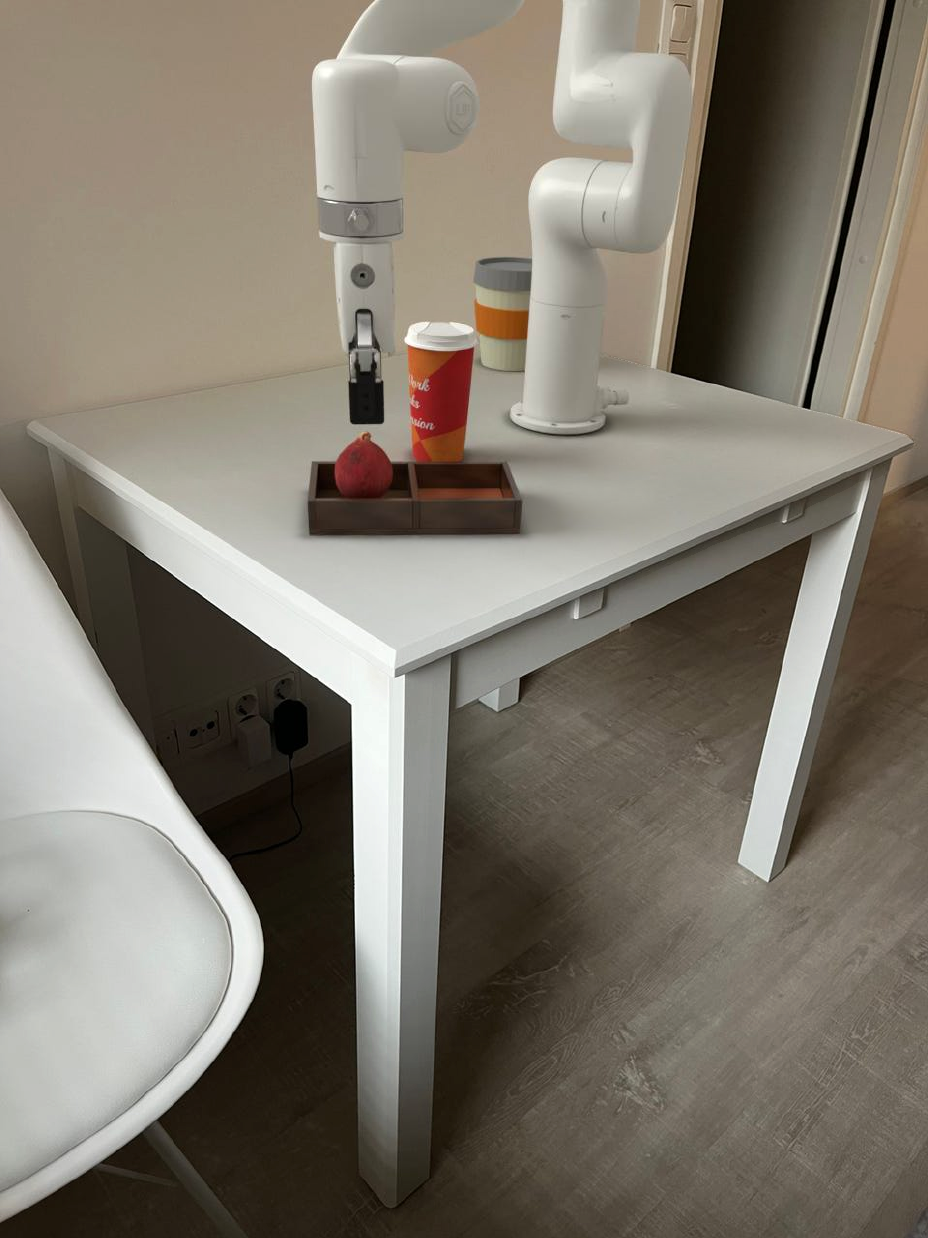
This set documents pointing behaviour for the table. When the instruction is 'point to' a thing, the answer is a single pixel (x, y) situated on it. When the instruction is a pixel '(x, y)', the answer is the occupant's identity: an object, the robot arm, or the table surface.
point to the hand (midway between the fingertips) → (366, 406)
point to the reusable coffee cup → (503, 310)
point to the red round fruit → (363, 469)
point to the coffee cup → (439, 388)
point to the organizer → (420, 501)
